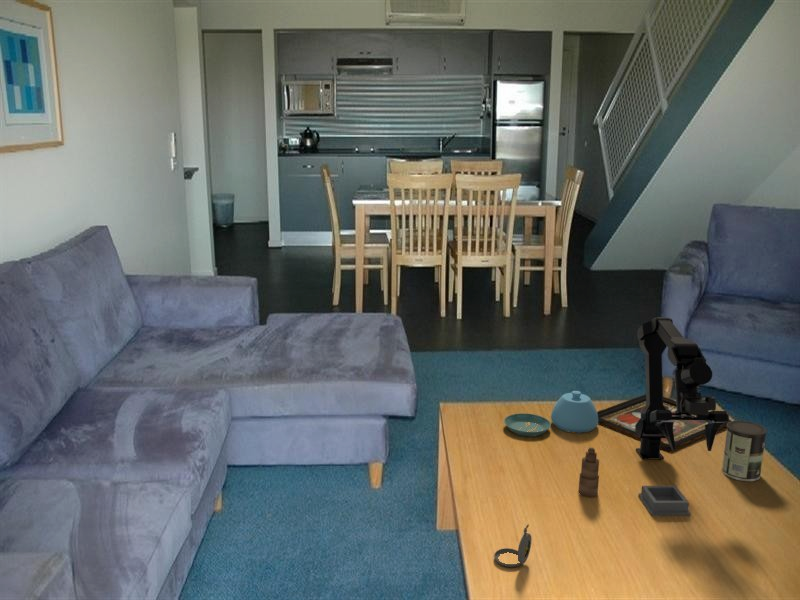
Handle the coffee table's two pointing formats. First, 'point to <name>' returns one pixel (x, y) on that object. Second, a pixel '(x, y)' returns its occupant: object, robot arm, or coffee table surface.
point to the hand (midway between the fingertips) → (691, 450)
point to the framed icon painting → (630, 413)
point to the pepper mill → (589, 474)
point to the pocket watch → (522, 551)
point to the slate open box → (664, 500)
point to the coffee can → (744, 450)
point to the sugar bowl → (575, 413)
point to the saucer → (519, 421)
